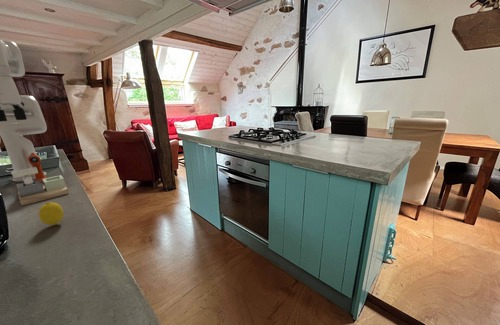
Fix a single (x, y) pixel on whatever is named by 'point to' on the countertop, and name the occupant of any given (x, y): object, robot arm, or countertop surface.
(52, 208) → the lemon
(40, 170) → the toy drill
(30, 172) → the light grey block
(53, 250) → the countertop surface
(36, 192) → the block
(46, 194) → the board
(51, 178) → the pale green hollow frame
